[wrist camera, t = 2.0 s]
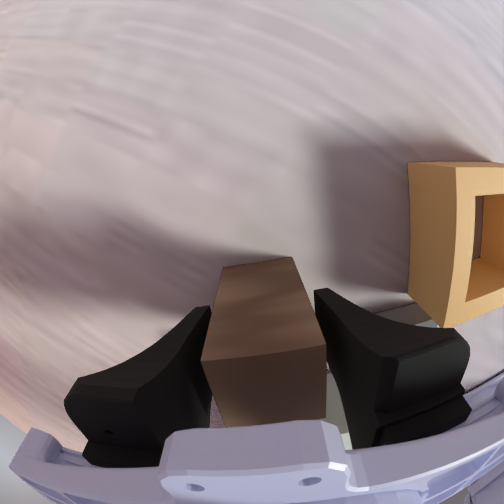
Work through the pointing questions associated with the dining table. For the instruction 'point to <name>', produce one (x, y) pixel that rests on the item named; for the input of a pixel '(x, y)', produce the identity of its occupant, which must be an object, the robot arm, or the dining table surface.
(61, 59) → the dining table surface
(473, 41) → the dining table surface
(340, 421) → the block
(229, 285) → the rod
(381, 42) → the dining table surface
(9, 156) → the dining table surface
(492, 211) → the socket
